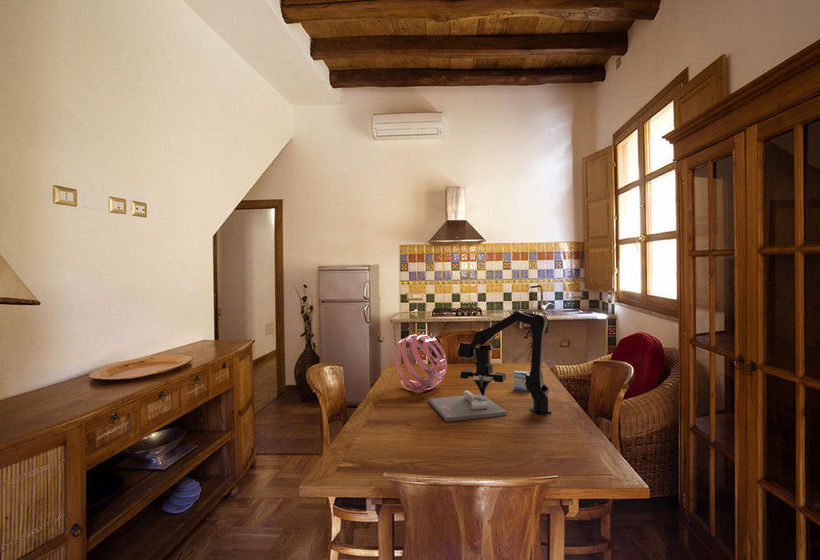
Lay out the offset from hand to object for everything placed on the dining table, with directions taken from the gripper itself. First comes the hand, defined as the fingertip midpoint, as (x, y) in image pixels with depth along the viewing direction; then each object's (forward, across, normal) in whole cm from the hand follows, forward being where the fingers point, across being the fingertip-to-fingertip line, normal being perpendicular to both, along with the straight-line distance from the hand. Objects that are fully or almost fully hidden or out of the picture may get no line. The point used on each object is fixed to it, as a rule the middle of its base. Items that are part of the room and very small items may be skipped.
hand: (483, 395), depth 184 cm
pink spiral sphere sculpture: (+4, +34, -10) cm, 35 cm away
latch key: (+2, +3, +6) cm, 7 cm away
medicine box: (+4, -11, -28) cm, 30 cm away
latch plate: (+4, +5, +9) cm, 11 cm away
